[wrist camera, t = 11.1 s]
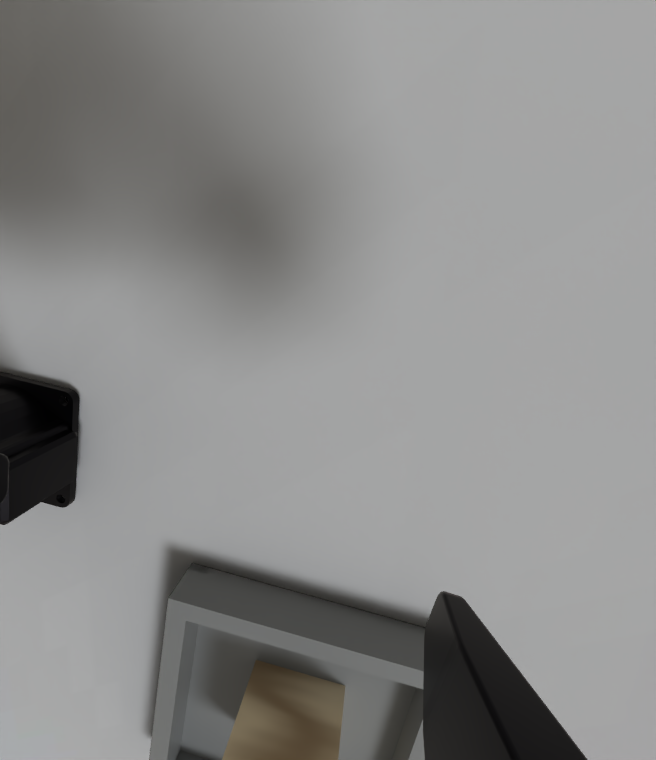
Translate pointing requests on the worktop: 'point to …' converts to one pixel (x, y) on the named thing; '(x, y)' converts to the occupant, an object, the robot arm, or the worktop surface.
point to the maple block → (287, 717)
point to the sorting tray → (288, 650)
